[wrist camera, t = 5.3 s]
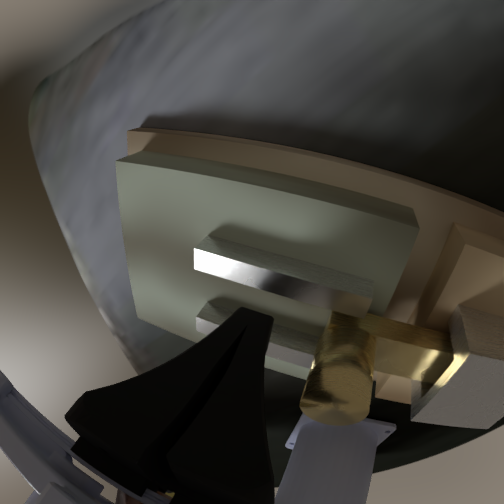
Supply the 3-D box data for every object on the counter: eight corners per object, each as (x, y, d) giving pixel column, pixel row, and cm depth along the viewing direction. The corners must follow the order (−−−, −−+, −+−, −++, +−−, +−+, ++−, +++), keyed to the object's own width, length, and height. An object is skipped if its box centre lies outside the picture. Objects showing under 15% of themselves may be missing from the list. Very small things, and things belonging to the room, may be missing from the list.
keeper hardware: (494, 389, 11) (499, 429, 9) (207, 315, 15) (180, 353, 13) (543, 328, 9) (559, 370, 6) (207, 234, 13) (172, 270, 10)
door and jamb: (487, 389, 15) (491, 423, 13) (152, 296, 21) (128, 322, 19) (581, 252, 8) (604, 282, 6) (139, 127, 15) (100, 139, 12)
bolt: (465, 373, 11) (472, 445, 8) (316, 337, 13) (293, 415, 10) (491, 340, 10) (508, 417, 6) (330, 298, 12) (309, 382, 8)
